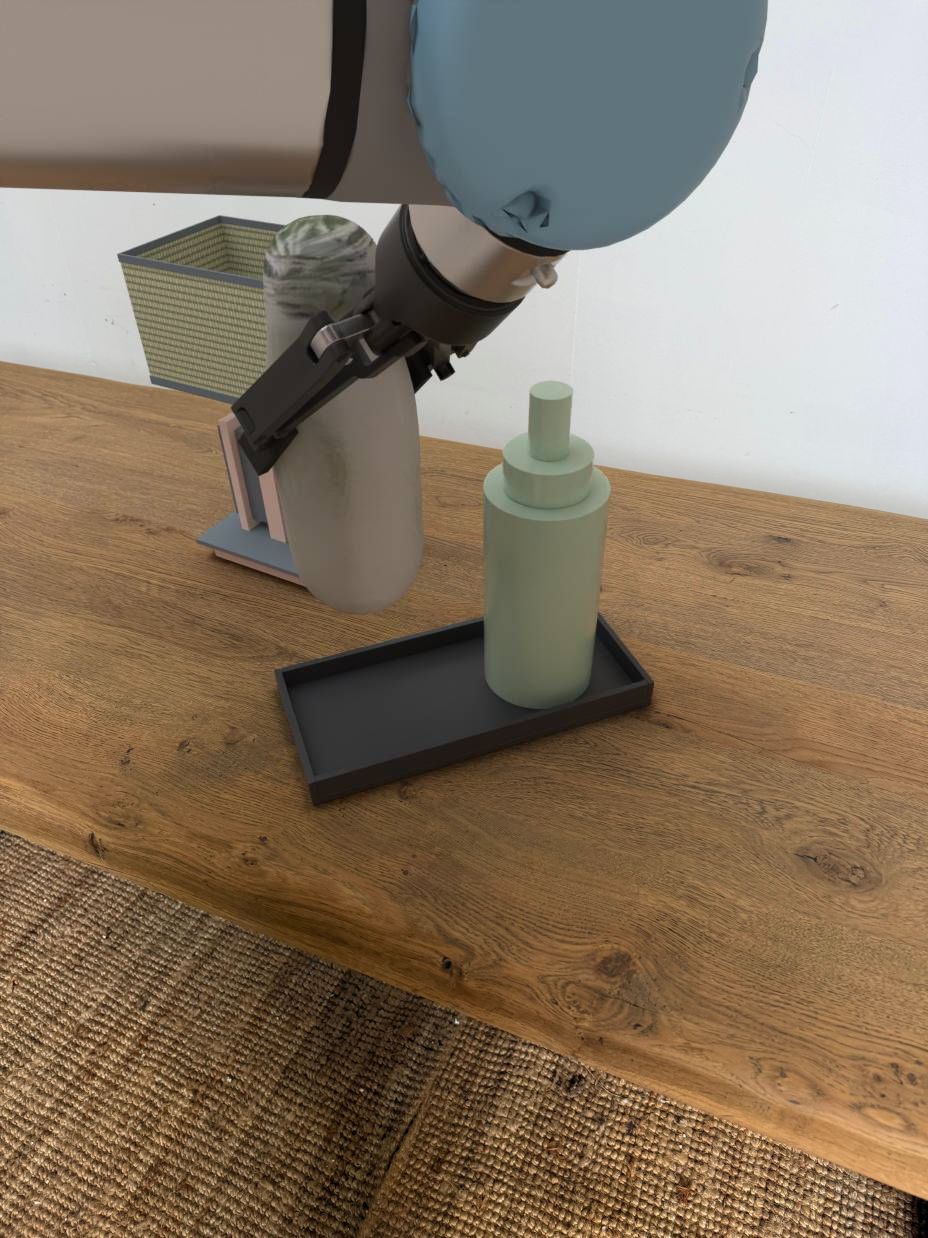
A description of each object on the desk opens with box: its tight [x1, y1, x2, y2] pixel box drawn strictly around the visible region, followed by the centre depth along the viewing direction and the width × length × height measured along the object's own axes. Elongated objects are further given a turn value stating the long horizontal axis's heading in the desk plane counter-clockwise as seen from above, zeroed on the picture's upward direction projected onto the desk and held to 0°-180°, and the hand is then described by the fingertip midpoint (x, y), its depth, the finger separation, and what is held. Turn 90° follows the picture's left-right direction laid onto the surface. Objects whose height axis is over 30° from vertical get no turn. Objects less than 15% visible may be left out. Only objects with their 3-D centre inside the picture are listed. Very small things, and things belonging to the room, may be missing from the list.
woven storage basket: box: [116, 214, 374, 588], centre depth 88 cm, size 18×14×33 cm
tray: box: [273, 611, 655, 806], centre depth 78 cm, size 31×14×3 cm, turn 111°
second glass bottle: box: [482, 380, 612, 709], centre depth 72 cm, size 10×10×28 cm
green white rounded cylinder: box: [263, 214, 425, 616], centre depth 59 cm, size 10×10×28 cm
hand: (319, 428), depth 61 cm, fingers closed on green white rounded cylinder, 11 cm apart
